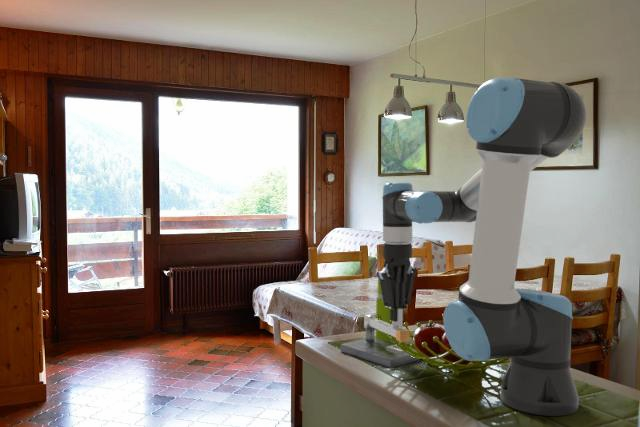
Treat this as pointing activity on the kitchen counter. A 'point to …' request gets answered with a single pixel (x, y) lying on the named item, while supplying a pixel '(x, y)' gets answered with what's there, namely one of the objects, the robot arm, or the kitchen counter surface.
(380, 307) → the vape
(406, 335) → the swing arm
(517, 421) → the kitchen counter surface
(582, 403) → the kitchen counter surface
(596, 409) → the kitchen counter surface
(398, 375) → the kitchen counter surface
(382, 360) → the plate
